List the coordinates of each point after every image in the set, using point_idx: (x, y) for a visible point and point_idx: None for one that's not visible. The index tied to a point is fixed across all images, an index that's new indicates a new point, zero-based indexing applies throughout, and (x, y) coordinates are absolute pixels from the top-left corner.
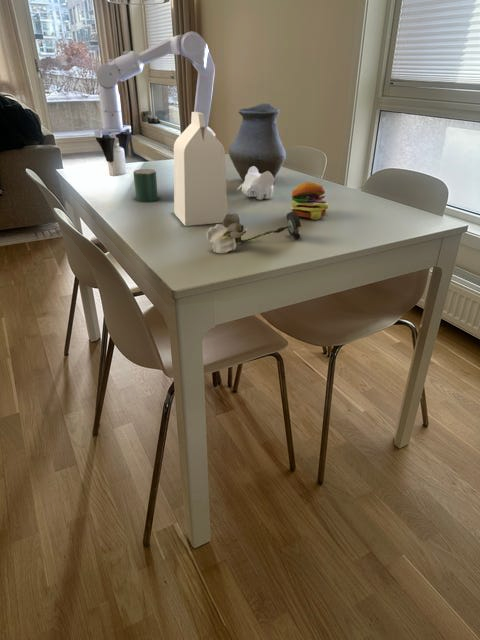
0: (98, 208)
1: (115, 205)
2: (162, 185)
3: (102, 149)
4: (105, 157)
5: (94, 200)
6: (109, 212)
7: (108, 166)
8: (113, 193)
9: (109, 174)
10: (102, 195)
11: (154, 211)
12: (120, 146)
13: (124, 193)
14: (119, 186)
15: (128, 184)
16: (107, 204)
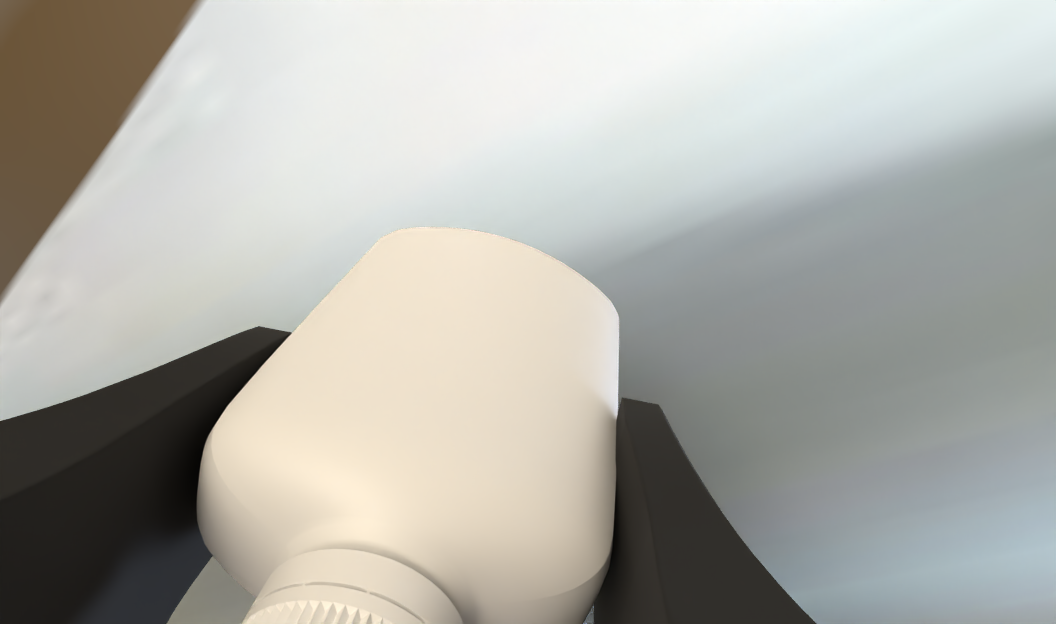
0: (55, 266)
1: (192, 345)
2: (997, 450)
3: (52, 419)
4: (207, 351)
5: (214, 98)
6: (37, 382)
7: (340, 281)
8: (528, 137)
9: (383, 237)
10: (408, 67)
11: (221, 600)
12: (622, 607)
13: (567, 243)
14: (880, 27)
15: (1017, 85)
16: (179, 276)
